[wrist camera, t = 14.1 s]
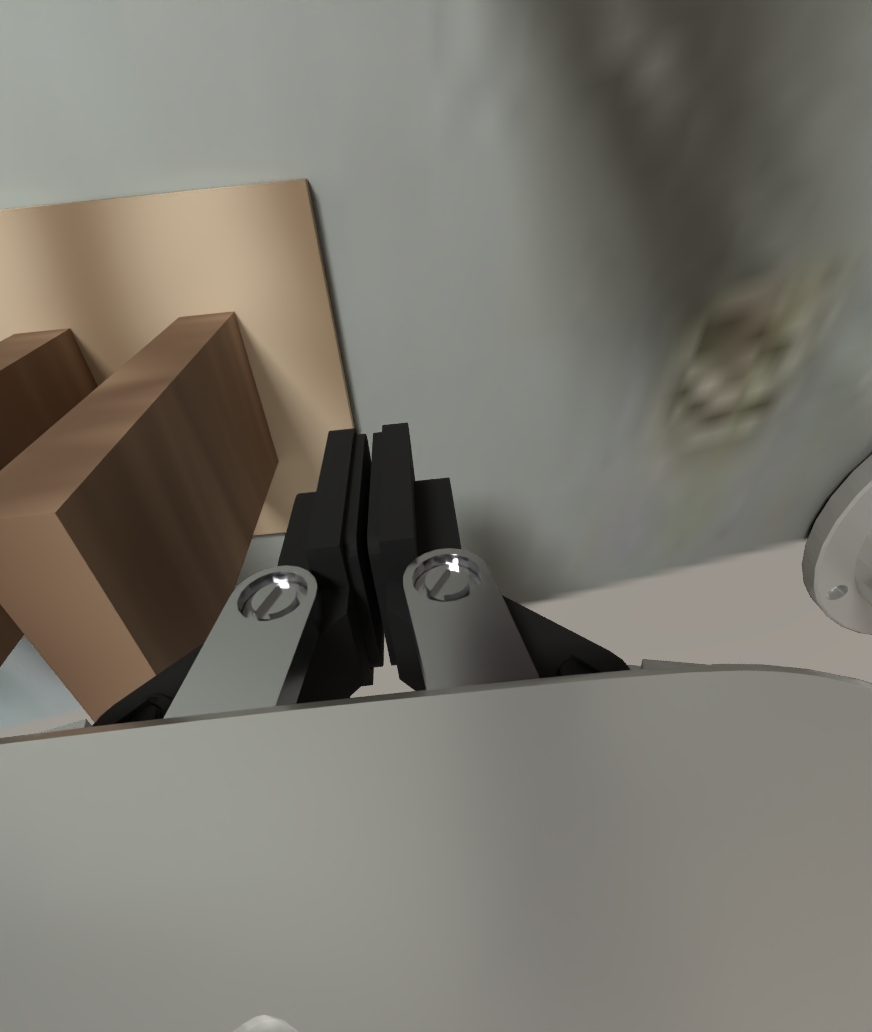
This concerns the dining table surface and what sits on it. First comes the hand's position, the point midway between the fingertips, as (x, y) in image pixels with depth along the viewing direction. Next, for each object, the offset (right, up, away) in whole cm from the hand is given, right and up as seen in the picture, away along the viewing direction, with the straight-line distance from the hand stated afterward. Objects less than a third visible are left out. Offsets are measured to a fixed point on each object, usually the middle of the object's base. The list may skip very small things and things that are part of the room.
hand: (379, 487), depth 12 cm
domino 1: (-5, +3, +5) cm, 8 cm away
